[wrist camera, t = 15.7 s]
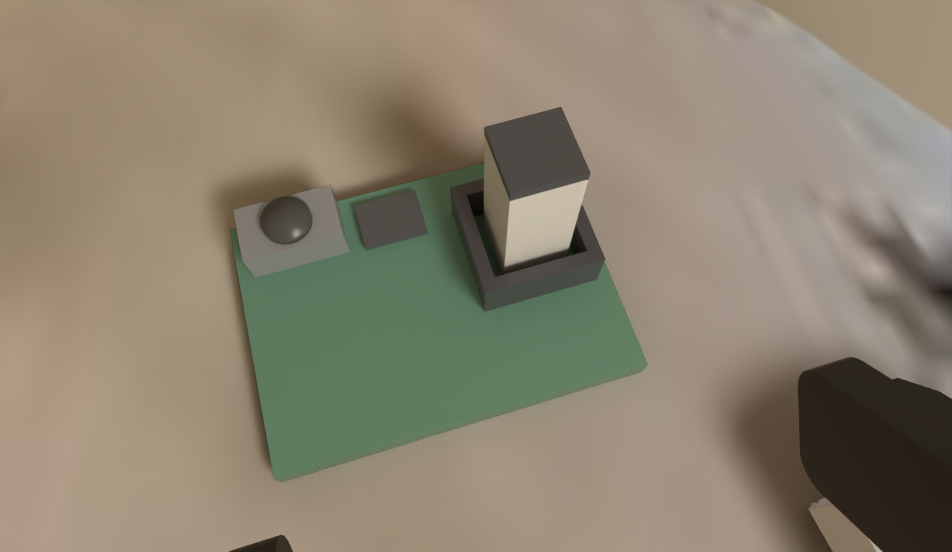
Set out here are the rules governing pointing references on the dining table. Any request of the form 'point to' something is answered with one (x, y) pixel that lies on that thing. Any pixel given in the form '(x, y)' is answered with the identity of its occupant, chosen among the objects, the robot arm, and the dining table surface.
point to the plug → (532, 189)
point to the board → (411, 319)
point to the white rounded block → (839, 529)
